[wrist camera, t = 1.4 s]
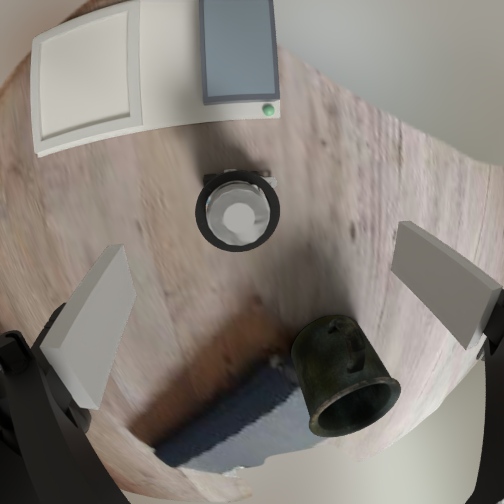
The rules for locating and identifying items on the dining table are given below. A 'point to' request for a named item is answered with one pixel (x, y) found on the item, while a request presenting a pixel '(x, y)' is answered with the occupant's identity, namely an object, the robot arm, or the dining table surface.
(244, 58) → the blue-grey rectangular block
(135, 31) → the board
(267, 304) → the dining table surface
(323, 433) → the mug
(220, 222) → the push button
